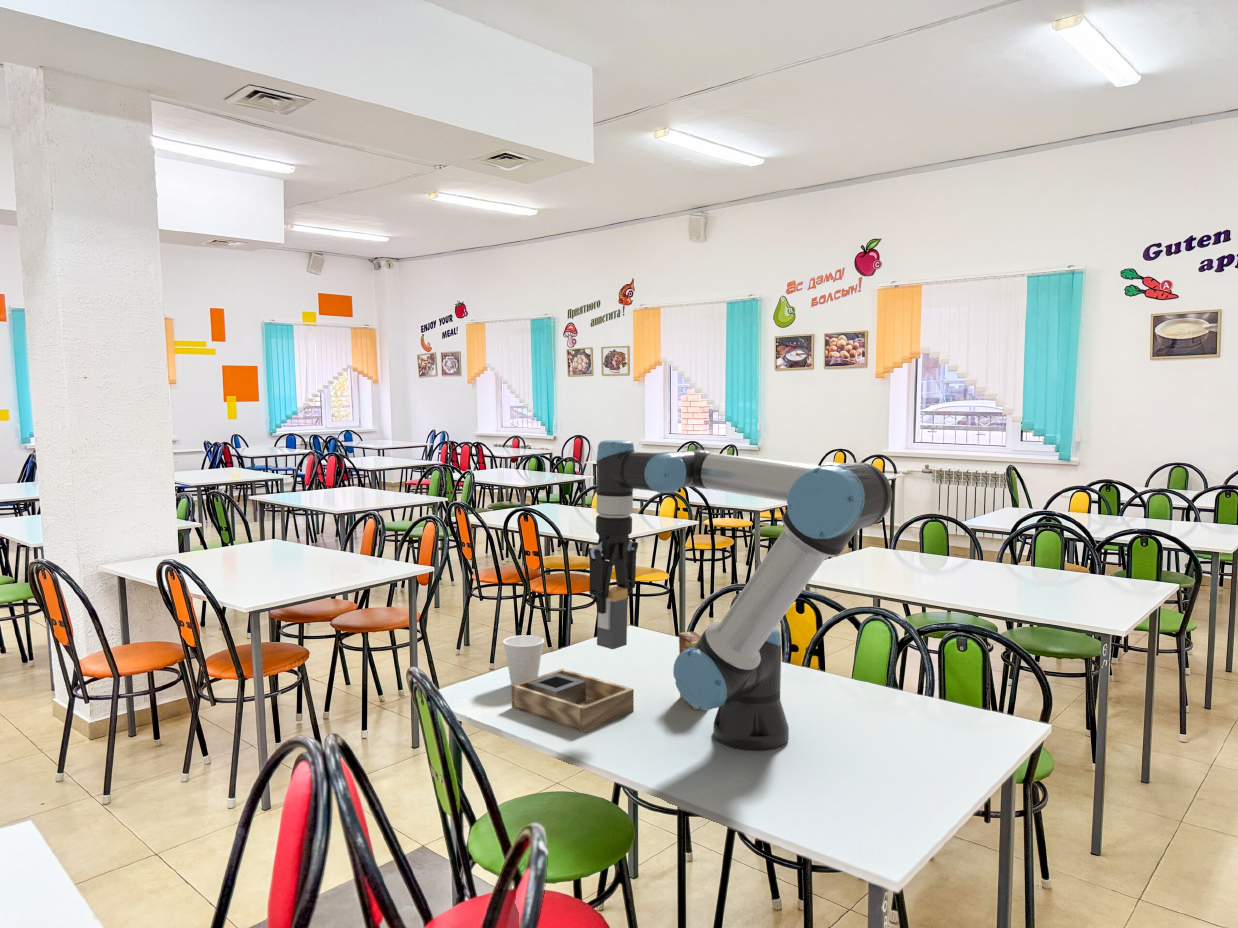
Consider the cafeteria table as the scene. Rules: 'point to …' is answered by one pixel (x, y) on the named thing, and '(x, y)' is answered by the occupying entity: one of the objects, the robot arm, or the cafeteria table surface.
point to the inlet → (560, 687)
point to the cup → (523, 657)
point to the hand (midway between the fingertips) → (612, 625)
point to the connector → (615, 620)
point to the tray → (597, 709)
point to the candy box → (687, 646)
